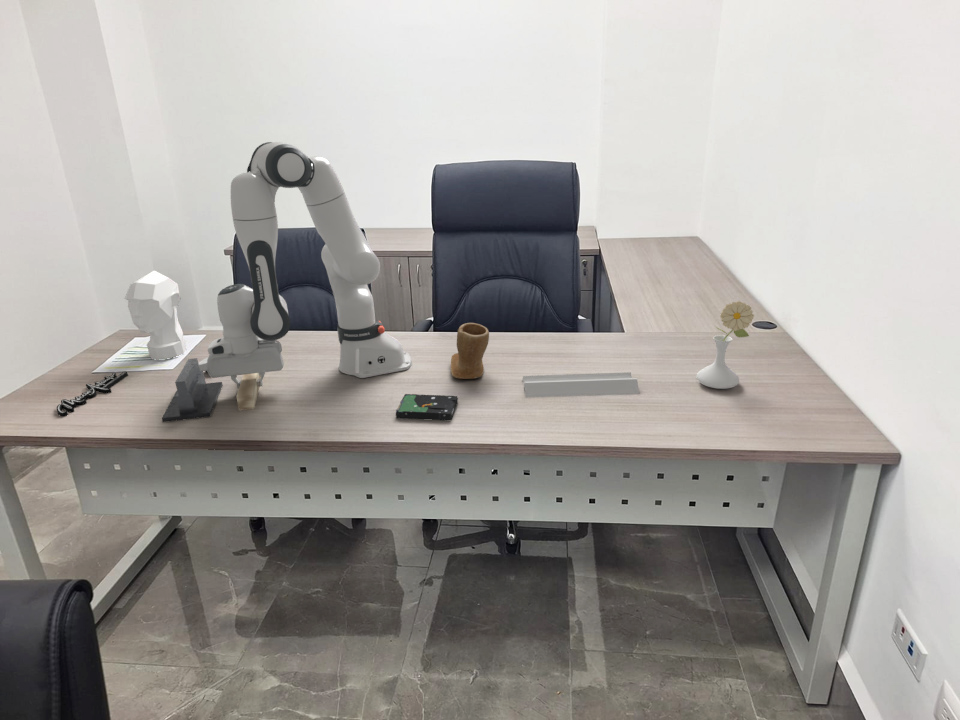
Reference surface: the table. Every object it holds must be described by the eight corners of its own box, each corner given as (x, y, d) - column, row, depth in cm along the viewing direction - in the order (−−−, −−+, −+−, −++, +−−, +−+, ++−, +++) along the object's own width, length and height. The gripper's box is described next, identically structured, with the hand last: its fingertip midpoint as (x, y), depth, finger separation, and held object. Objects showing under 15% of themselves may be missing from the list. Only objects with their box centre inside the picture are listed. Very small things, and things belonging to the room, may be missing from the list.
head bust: (125, 366, 203) (102, 282, 192) (160, 344, 220) (141, 266, 209) (170, 368, 201) (149, 283, 190) (202, 345, 218) (184, 266, 207)
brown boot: (490, 381, 184) (489, 333, 178) (449, 382, 184) (447, 334, 178) (489, 360, 198) (488, 315, 192) (451, 362, 198) (449, 316, 192)
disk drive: (458, 404, 173) (405, 402, 174) (457, 395, 171) (404, 393, 173) (451, 423, 163) (395, 420, 165) (451, 413, 162) (395, 410, 164)
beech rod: (262, 376, 193) (260, 363, 191) (254, 409, 173) (251, 394, 171) (248, 378, 192) (246, 364, 190) (239, 411, 172) (236, 396, 170)
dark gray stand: (222, 385, 187) (215, 353, 183) (210, 416, 169) (202, 382, 165) (179, 390, 185) (172, 358, 181) (162, 422, 167) (153, 387, 163)
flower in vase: (688, 385, 177) (697, 300, 168) (706, 372, 185) (716, 290, 175) (734, 398, 169) (747, 309, 159) (751, 384, 177) (764, 298, 167)
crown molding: (629, 378, 184) (630, 366, 183) (639, 396, 173) (640, 384, 172) (522, 381, 185) (522, 370, 183) (525, 400, 174) (525, 388, 172)
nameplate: (76, 413, 171) (42, 413, 172) (78, 418, 172) (43, 418, 172) (134, 371, 196) (104, 371, 197) (136, 376, 197) (105, 375, 198)
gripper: (281, 334, 181) (288, 378, 186) (205, 342, 177) (215, 386, 183) (279, 342, 175) (286, 387, 181) (201, 350, 172) (211, 395, 177)
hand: (250, 386), depth 182 cm, fingers closed on beech rod, 4 cm apart
